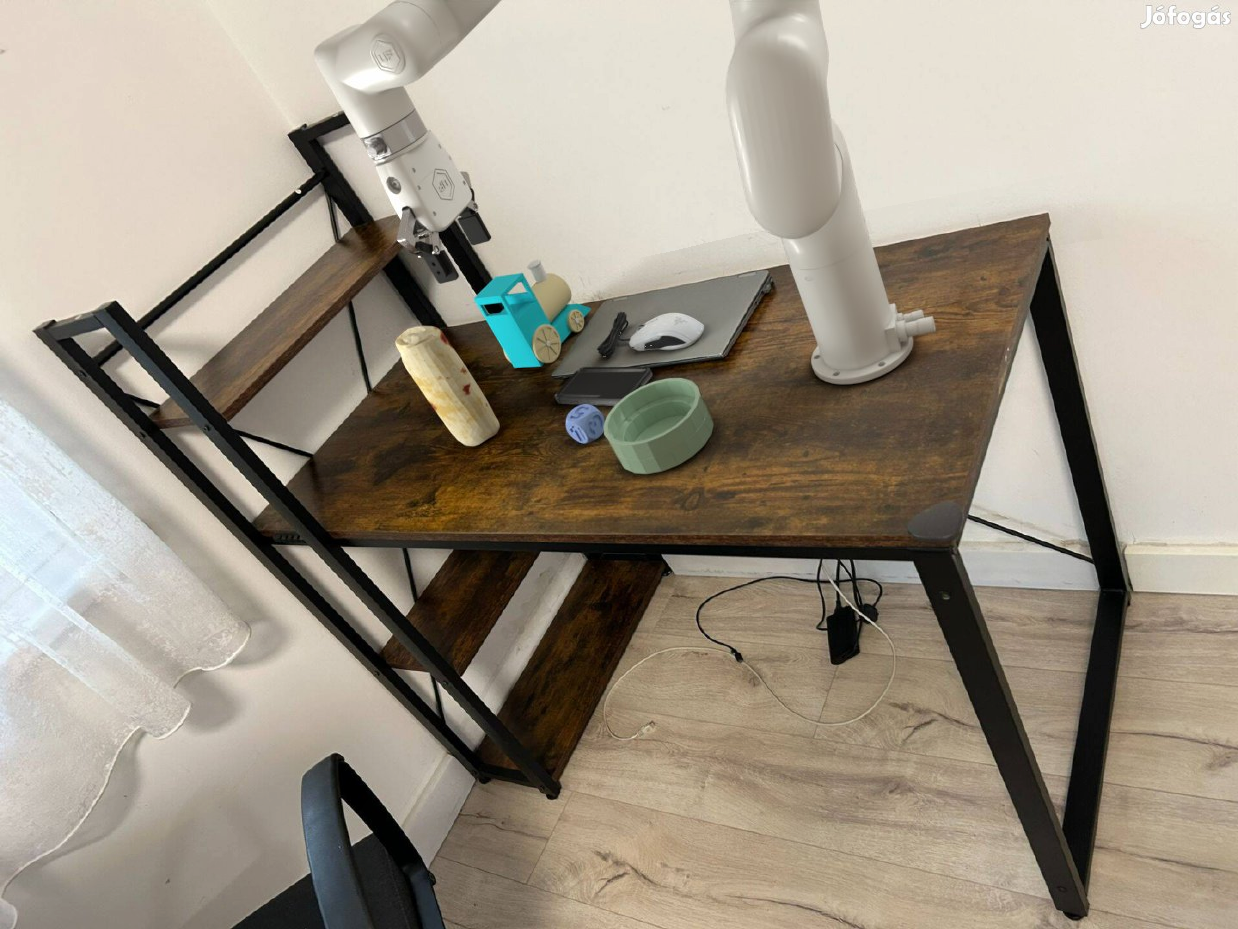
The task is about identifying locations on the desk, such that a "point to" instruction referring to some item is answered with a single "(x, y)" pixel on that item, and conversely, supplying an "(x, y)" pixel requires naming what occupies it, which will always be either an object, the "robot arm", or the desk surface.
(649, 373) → the phone
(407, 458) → the desk surface
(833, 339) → the robot arm
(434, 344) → the food model
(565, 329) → the toy train
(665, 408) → the bowl
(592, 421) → the decorative dice
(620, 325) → the computer mouse
